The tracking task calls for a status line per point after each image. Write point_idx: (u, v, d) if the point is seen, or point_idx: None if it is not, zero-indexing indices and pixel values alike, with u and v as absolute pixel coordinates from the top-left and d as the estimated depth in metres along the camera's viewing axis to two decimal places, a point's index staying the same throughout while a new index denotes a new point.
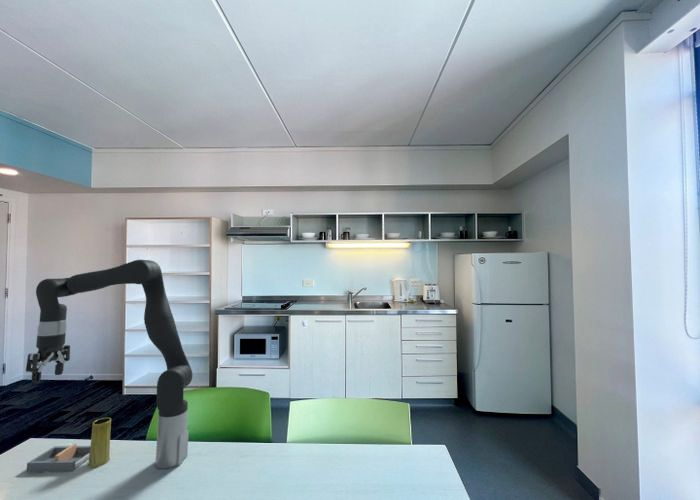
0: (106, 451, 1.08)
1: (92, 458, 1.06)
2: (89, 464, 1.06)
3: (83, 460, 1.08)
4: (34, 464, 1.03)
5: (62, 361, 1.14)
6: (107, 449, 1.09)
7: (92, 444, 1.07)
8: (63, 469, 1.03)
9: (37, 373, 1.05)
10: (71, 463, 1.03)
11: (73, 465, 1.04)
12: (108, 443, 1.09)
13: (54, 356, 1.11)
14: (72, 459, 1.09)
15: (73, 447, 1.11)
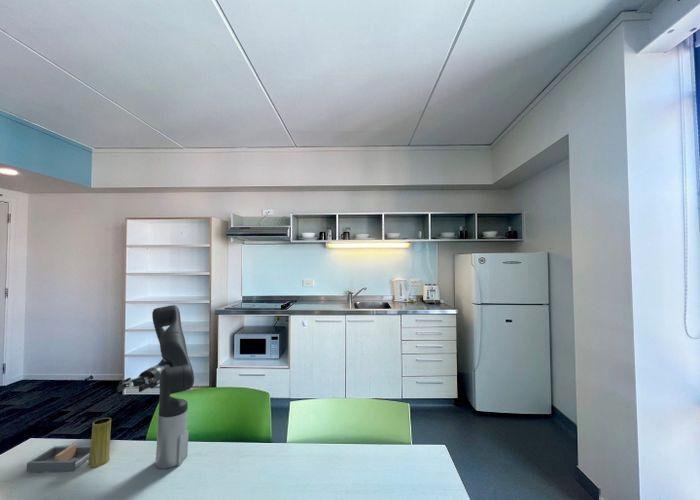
0: (106, 451, 1.08)
1: (92, 458, 1.06)
2: (89, 464, 1.06)
3: (83, 460, 1.08)
4: (34, 464, 1.03)
5: (146, 382, 1.29)
6: (107, 449, 1.09)
7: (92, 444, 1.07)
8: (63, 469, 1.03)
9: (122, 384, 1.27)
10: (71, 463, 1.03)
11: (73, 465, 1.04)
12: (108, 443, 1.09)
13: (142, 380, 1.32)
14: (72, 459, 1.09)
15: (73, 447, 1.11)
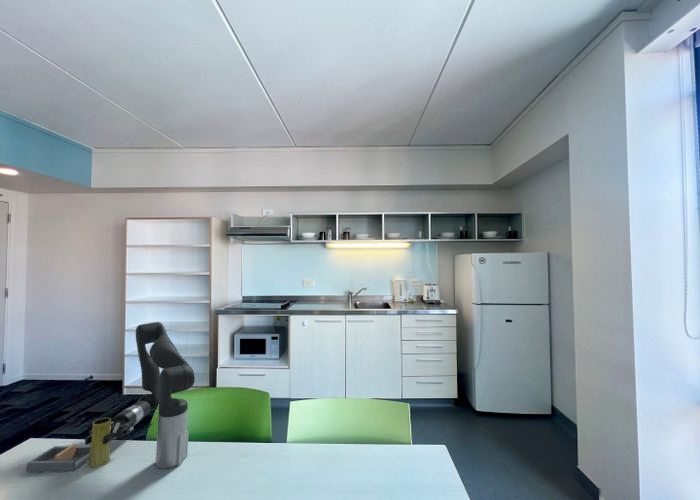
0: (106, 451, 1.08)
1: (92, 458, 1.06)
2: (89, 464, 1.06)
3: (83, 460, 1.08)
4: (34, 464, 1.03)
5: (114, 430, 1.12)
6: (107, 449, 1.09)
7: (92, 444, 1.07)
8: (63, 469, 1.03)
9: (91, 434, 1.10)
10: (71, 463, 1.03)
11: (73, 465, 1.04)
12: (108, 443, 1.09)
13: (113, 426, 1.15)
14: (72, 459, 1.09)
15: (73, 447, 1.11)
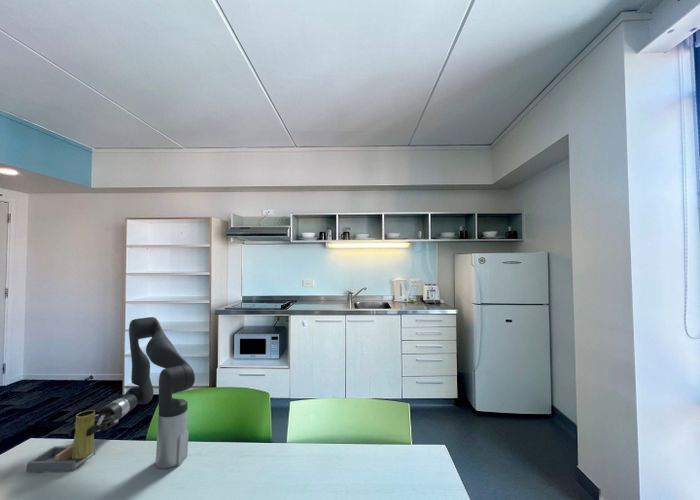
0: (90, 443, 1.09)
1: (76, 450, 1.06)
2: (73, 456, 1.06)
3: (83, 460, 1.08)
4: (34, 464, 1.03)
5: (98, 423, 1.12)
6: (91, 441, 1.09)
7: (76, 436, 1.07)
8: (63, 469, 1.03)
9: None
10: (71, 463, 1.03)
11: (73, 465, 1.04)
12: (91, 435, 1.09)
13: (98, 418, 1.15)
14: (72, 459, 1.09)
15: None
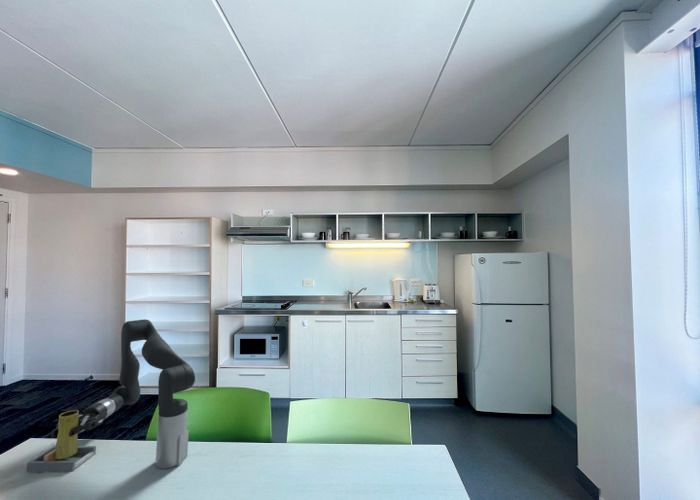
0: (73, 443, 1.08)
1: (58, 450, 1.06)
2: (55, 456, 1.06)
3: (83, 460, 1.08)
4: (34, 464, 1.03)
5: (82, 423, 1.12)
6: (74, 441, 1.09)
7: (58, 436, 1.06)
8: (63, 469, 1.03)
9: None
10: (71, 463, 1.03)
11: (73, 465, 1.04)
12: (75, 435, 1.09)
13: (82, 419, 1.15)
14: (72, 459, 1.09)
15: None
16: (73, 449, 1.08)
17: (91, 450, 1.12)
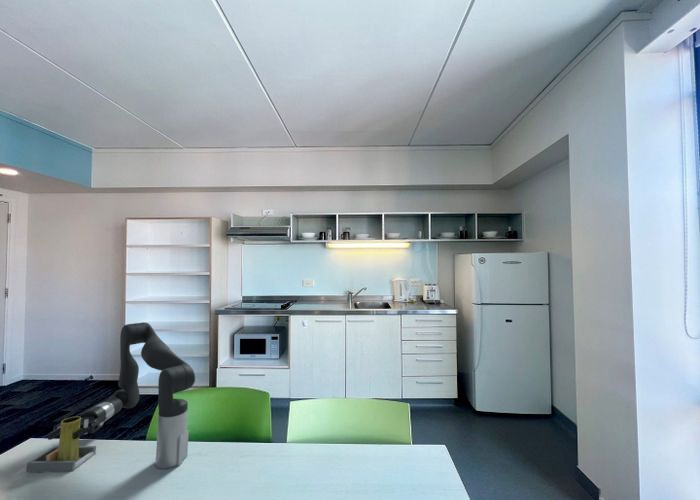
0: (75, 450, 1.08)
1: (60, 456, 1.06)
2: None
3: (83, 460, 1.08)
4: (34, 464, 1.03)
5: (85, 426, 1.12)
6: (76, 448, 1.08)
7: (60, 443, 1.06)
8: (63, 469, 1.03)
9: (56, 430, 1.10)
10: (71, 463, 1.03)
11: (73, 465, 1.04)
12: (76, 441, 1.09)
13: (81, 422, 1.14)
14: None
15: None
16: (75, 456, 1.08)
17: (91, 450, 1.12)
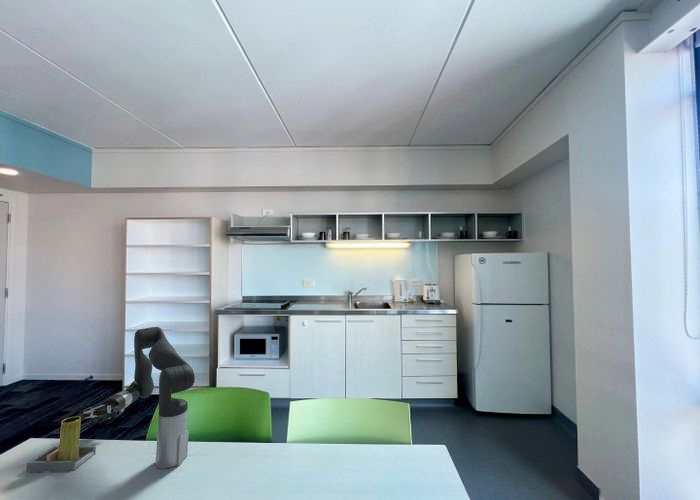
0: (75, 450, 1.08)
1: (60, 456, 1.06)
2: None
3: (83, 460, 1.08)
4: (34, 464, 1.03)
5: (108, 411, 1.23)
6: (76, 448, 1.08)
7: (60, 443, 1.06)
8: (63, 469, 1.03)
9: (82, 414, 1.21)
10: (71, 463, 1.03)
11: (73, 465, 1.04)
12: (77, 441, 1.09)
13: (104, 409, 1.26)
14: None
15: None
16: (75, 456, 1.08)
17: (91, 450, 1.12)
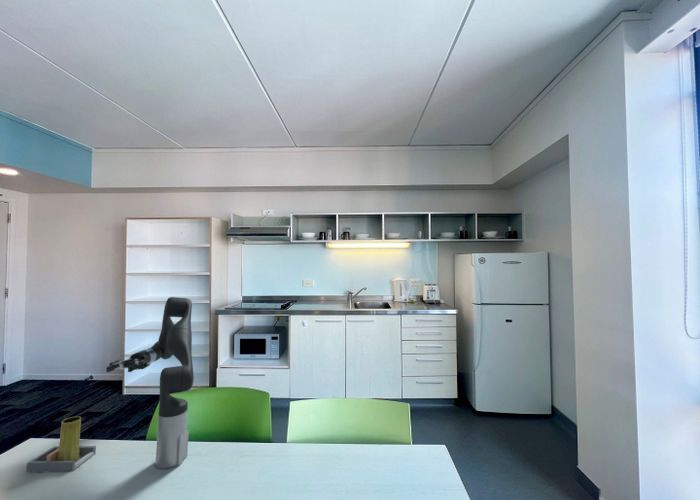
0: (75, 450, 1.08)
1: (60, 456, 1.06)
2: None
3: (83, 460, 1.08)
4: (34, 464, 1.03)
5: (136, 363, 1.30)
6: (76, 448, 1.08)
7: (60, 443, 1.06)
8: (63, 469, 1.03)
9: (111, 365, 1.28)
10: (71, 463, 1.03)
11: (73, 465, 1.04)
12: (77, 441, 1.09)
13: (132, 361, 1.32)
14: None
15: None
16: (75, 456, 1.08)
17: (91, 450, 1.12)
